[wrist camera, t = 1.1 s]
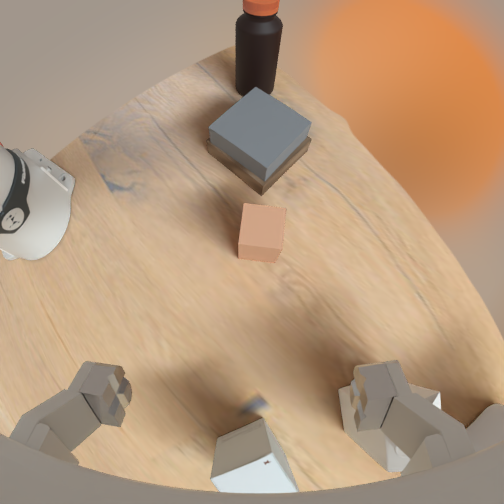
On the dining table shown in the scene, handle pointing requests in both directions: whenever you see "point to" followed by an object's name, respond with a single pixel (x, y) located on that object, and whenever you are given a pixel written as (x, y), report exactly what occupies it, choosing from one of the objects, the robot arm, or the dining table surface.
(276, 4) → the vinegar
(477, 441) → the plastic bottle
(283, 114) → the tower top block
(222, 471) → the supplement box
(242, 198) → the dining table surface
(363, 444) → the milk carton
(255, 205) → the terracotta block
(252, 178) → the tower base block
